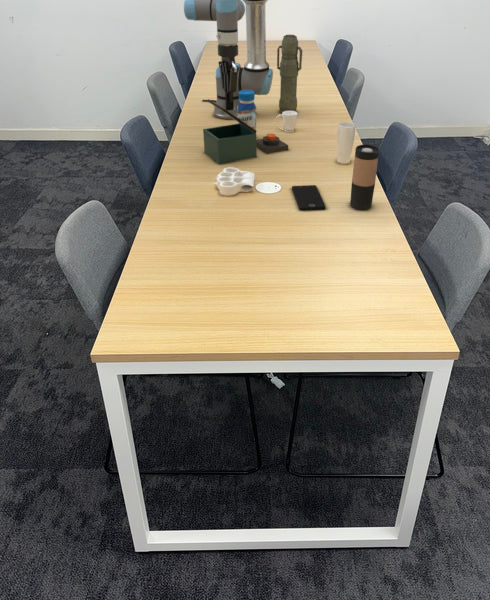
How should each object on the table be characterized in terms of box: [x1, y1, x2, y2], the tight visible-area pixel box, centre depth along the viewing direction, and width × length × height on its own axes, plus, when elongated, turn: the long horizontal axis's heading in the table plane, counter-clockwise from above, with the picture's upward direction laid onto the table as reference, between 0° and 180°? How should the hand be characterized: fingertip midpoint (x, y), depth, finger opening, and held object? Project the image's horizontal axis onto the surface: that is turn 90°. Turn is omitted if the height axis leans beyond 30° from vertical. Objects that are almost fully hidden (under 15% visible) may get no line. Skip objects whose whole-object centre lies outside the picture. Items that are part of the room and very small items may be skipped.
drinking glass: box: [336, 121, 356, 165], centre depth 216 cm, size 7×7×15 cm
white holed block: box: [213, 166, 256, 197], centre depth 199 cm, size 3×18×15 cm
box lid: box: [207, 98, 258, 134], centre depth 217 cm, size 18×15×1 cm
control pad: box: [256, 135, 289, 155], centre depth 231 cm, size 12×10×4 cm
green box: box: [202, 123, 257, 165], centre depth 222 cm, size 17×15×10 cm
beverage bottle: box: [237, 90, 258, 131], centre depth 236 cm, size 8×8×20 cm
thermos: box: [276, 34, 304, 114], centre depth 264 cm, size 9×12×35 cm
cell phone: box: [291, 184, 327, 211], centre depth 191 cm, size 9×18×1 cm, turn 7°
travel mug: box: [349, 144, 380, 211], centre depth 181 cm, size 8×8×20 cm
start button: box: [265, 133, 277, 140], centre depth 230 cm, size 4×4×2 cm
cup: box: [274, 111, 299, 133], centre depth 249 cm, size 7×10×8 cm
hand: (229, 109), depth 215 cm, fingers closed
